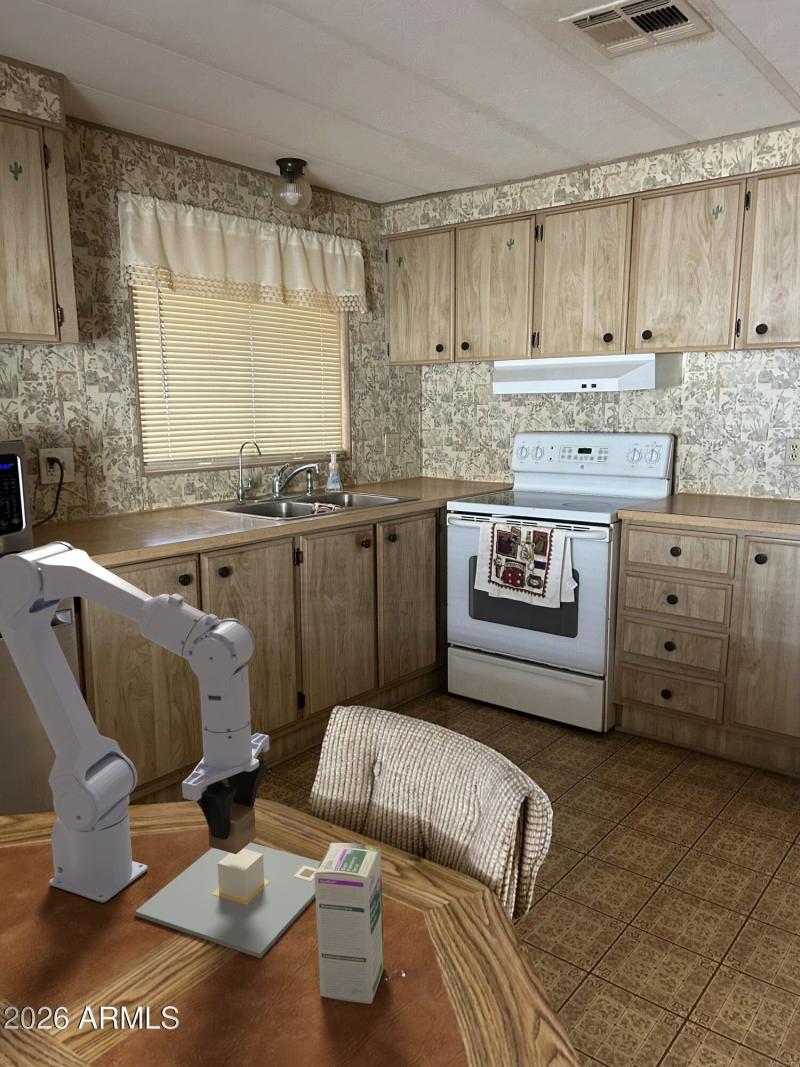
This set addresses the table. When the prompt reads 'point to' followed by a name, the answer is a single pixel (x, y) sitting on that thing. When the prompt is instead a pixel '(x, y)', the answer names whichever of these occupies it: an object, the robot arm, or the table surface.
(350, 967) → the syrup box
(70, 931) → the table surface
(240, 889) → the cream block
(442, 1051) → the table surface
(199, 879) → the board
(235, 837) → the walnut block
